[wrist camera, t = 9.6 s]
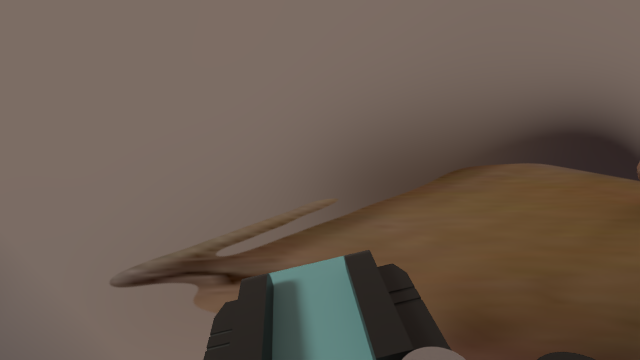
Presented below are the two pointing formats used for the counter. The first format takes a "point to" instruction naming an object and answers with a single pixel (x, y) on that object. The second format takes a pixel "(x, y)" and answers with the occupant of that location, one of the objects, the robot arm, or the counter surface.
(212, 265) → the counter surface
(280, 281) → the rectangular block
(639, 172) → the mushroom
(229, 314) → the robot arm
